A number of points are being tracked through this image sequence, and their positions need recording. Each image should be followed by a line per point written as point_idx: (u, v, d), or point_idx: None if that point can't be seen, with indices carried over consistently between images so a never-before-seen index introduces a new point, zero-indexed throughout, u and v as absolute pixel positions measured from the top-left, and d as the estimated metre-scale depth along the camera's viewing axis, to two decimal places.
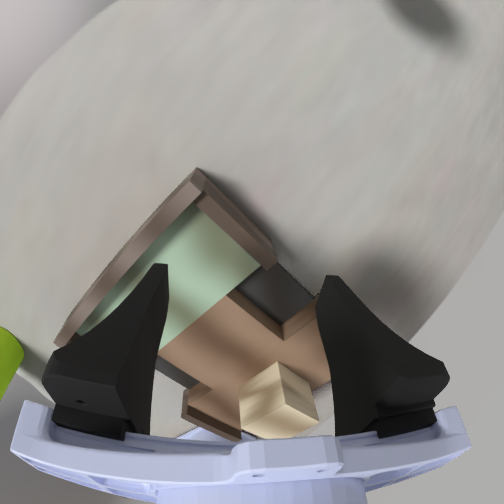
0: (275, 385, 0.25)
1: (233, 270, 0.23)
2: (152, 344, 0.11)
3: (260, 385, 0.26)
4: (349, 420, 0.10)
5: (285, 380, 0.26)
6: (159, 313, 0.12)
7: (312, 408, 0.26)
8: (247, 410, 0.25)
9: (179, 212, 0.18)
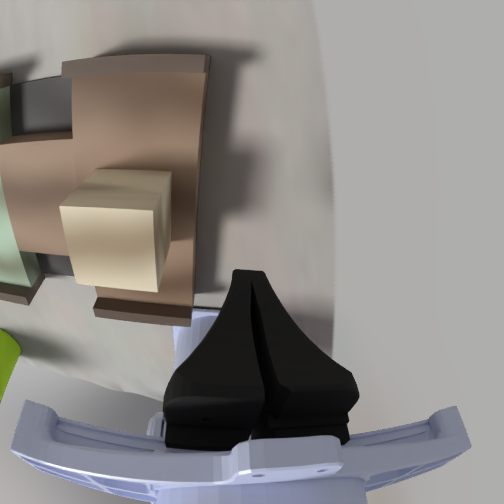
0: None
1: None
2: None
3: None
4: (256, 426, 0.09)
5: (93, 181, 0.16)
6: None
7: (146, 196, 0.15)
8: None
9: None
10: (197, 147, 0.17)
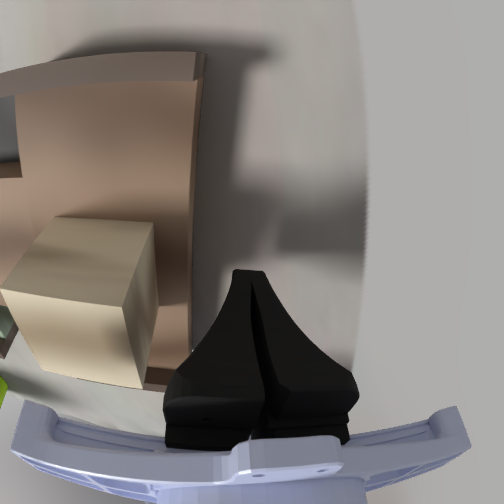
0: None
1: None
2: None
3: None
4: (256, 426, 0.09)
5: (47, 241, 0.11)
6: None
7: (113, 276, 0.10)
8: None
9: None
10: (187, 190, 0.12)
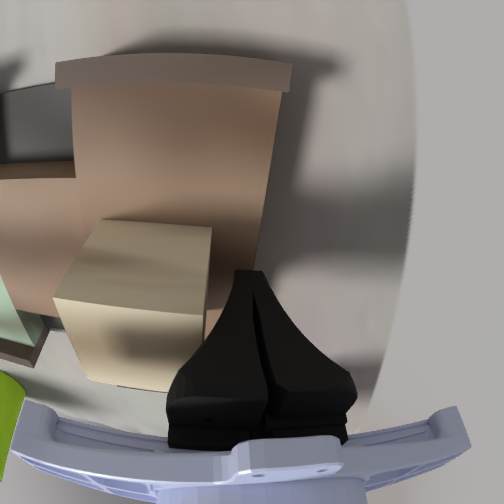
0: None
1: None
2: None
3: None
4: None
5: (100, 245, 0.11)
6: None
7: (184, 283, 0.10)
8: None
9: None
10: (263, 197, 0.12)
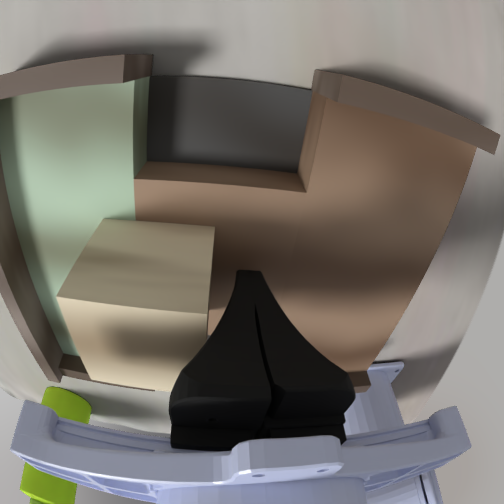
0: None
1: (107, 133, 0.10)
2: None
3: None
4: None
5: (103, 244, 0.11)
6: None
7: (188, 282, 0.10)
8: None
9: None
10: (448, 223, 0.14)
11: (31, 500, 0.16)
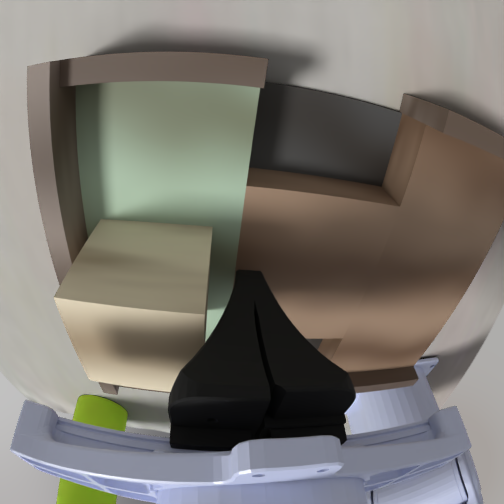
0: None
1: (223, 136, 0.11)
2: None
3: None
4: None
5: (101, 245, 0.11)
6: None
7: (186, 282, 0.10)
8: None
9: (47, 114, 0.08)
10: (496, 233, 0.14)
11: None
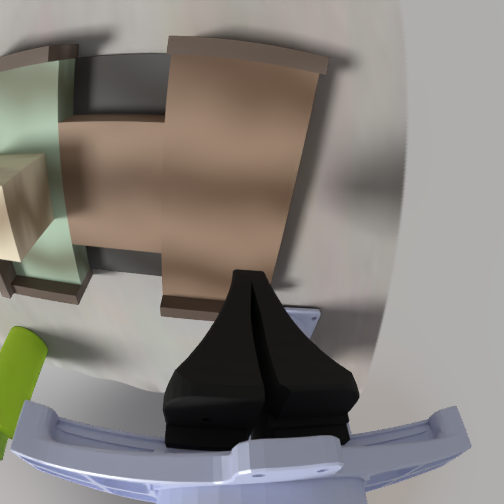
0: None
1: (44, 94, 0.14)
2: None
3: None
4: (256, 426, 0.09)
5: None
6: None
7: (7, 175, 0.13)
8: None
9: None
10: (302, 145, 0.17)
11: None
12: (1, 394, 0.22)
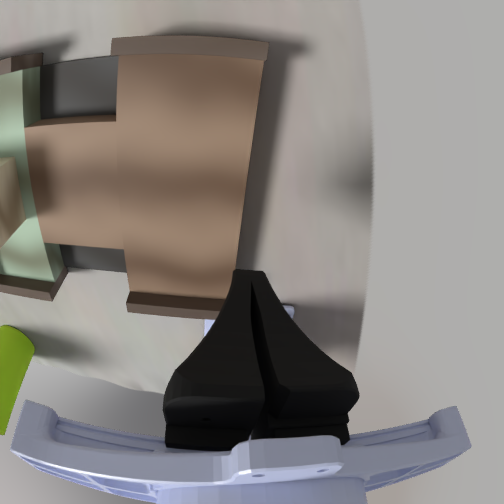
0: None
1: (11, 102, 0.14)
2: None
3: None
4: (256, 426, 0.09)
5: None
6: None
7: None
8: None
9: None
10: (252, 135, 0.17)
11: None
12: None
